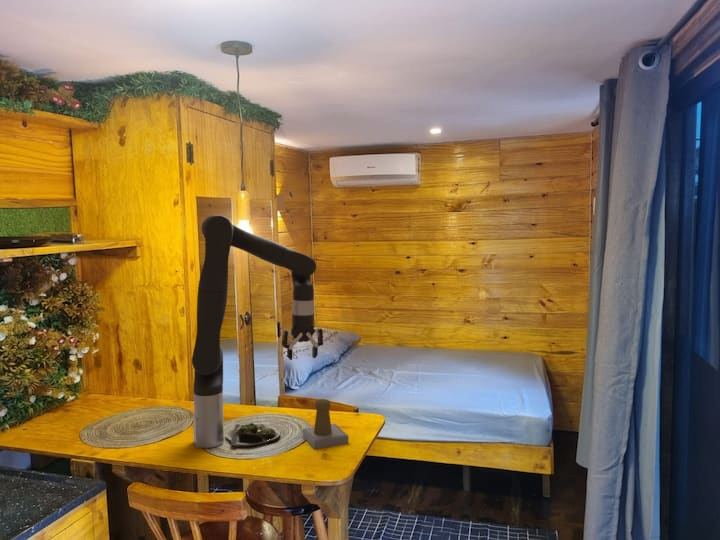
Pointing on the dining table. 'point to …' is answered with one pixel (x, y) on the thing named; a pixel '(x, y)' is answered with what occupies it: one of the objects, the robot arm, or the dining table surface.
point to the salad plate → (252, 435)
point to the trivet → (325, 437)
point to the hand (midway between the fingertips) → (302, 358)
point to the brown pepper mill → (322, 418)
